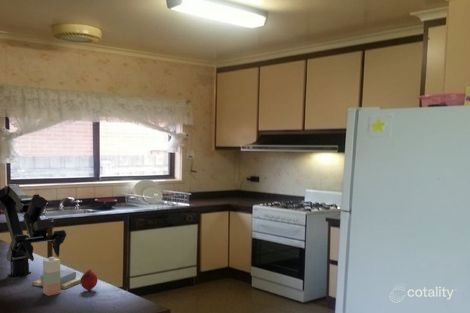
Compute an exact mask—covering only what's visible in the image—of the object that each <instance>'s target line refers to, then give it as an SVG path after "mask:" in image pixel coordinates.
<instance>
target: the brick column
mask: <svg viewBox="0 0 470 313" xmlns="http://www.w3.org/2000/svg"><path fill="white" fill-rule="evenodd" d="M60 270H61V259H59V258H58V257H55V256H49V257H48V258H45V259H44V258H43V260H42V275H43V286H42V291H43V292H42V293H43V294H44V295H45V296H48V297H49V296H53V295H59V294H61V288H60Z"/></svg>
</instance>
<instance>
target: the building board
mask: <svg viewBox="0 0 470 313" xmlns="http://www.w3.org/2000/svg"><path fill="white" fill-rule="evenodd" d="M81 278H82V276H80V277H79V276H76V278H74V279H72V280H70V281H67V282H65V283H62V284H60V290H61V289H63V290H66V289H69V288H71V287H74V286H76V285H77V284H81ZM31 284H32V286H37V287H43V282H41V278H39V279H37V280H34V281H32V282H31Z"/></svg>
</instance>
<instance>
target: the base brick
mask: <svg viewBox="0 0 470 313" xmlns="http://www.w3.org/2000/svg"><path fill="white" fill-rule="evenodd" d="M76 277H77V271H74V270H73V271H71V270H64V269H63V270H61V269H60V284H62V283H65V282H67V281H70V280H72V279H74V278H76ZM40 279H41V282H43V274H41V275H40Z"/></svg>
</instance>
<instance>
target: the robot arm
mask: <svg viewBox="0 0 470 313" xmlns="http://www.w3.org/2000/svg"><path fill="white" fill-rule="evenodd" d="M47 205H48V200H47V199H46V198H44V197H42V196H40V194H33V195H32V196H31V195H28V194H26V193H25V192H24V190H22V188H20V185H19V184H15V183H14V184H13V183H12V184H6V185H5V186H4V187H3V188H1V189H0V210H1V211H3V213H4V216H5V220H6V224H7V227H8V232H9V235H10V239H11V241H10V243H9V245H8V249H7V251H6V256H5V257H6V261H8V262H9V263H10V265H9V266H10V273H7V276H9V277H18V278H21V277H23V276H26V275H29V274H32V271H30V263H29V260H30V261H31V262H34V260H35V258H34V255H33V254H34V246H33V243H45V242H51V244H52V245H51V246H52V249H53V251H54V253H55V256H56V258H59V256H60V246H61V244H63V243H64V241H65V239H66V237H67V232H66V230H64V229H61V230H59V229H58V230H54V231H53V232H52V234H50V235H47V234H49V232H50V231H49V229H51V228H53V227H54V226H55V225H56V223H55V220H54V217H48V218H47V219H41V218H42V217H41V216H43V214H44V212H45V209H46V208H47ZM18 213H19V214H23V217H22V218H23V220H22V221H23V223H24V225H25V226H26V233H27V234H24V232H23V228H22V225H21V222H20V218H19V214H18Z"/></svg>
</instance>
